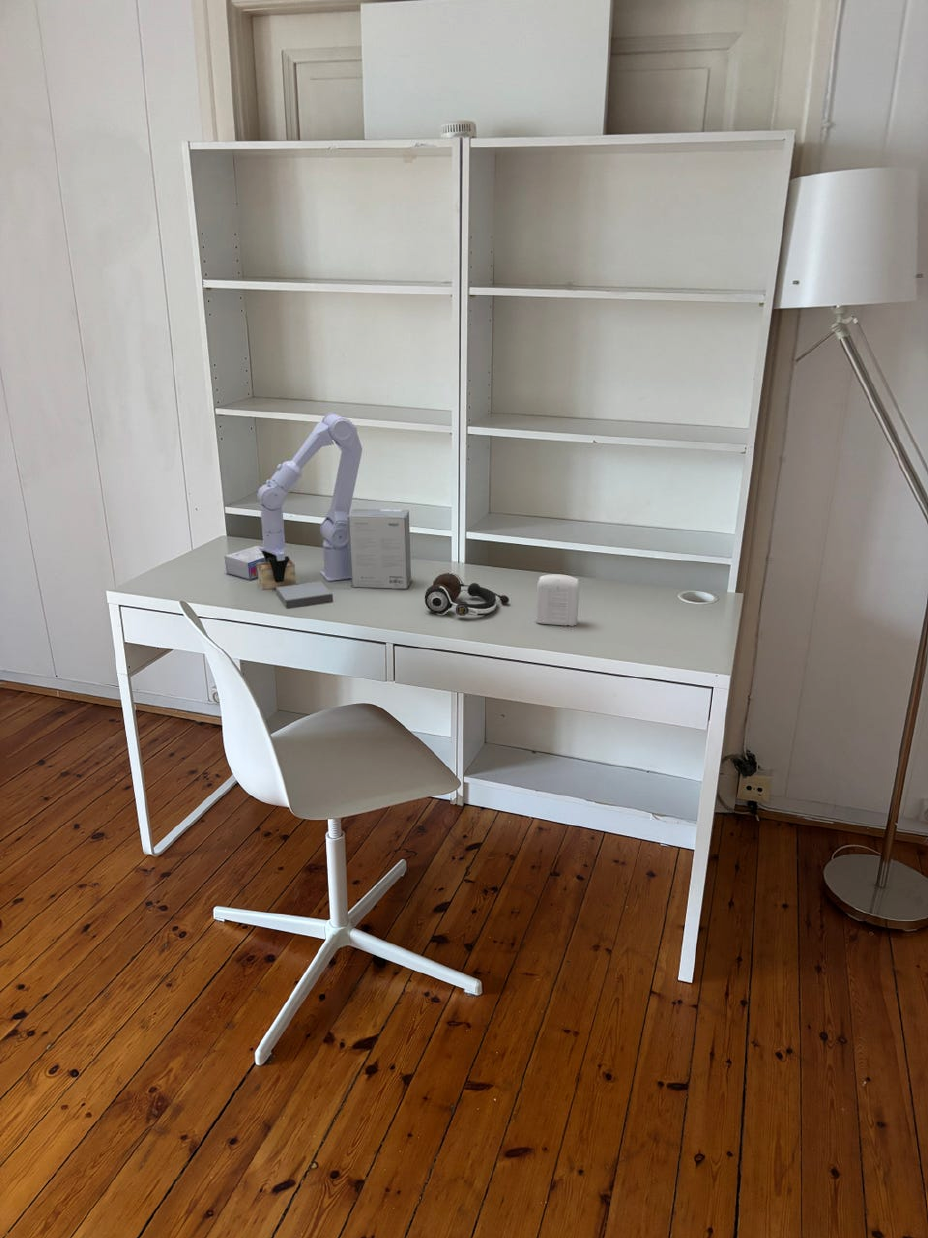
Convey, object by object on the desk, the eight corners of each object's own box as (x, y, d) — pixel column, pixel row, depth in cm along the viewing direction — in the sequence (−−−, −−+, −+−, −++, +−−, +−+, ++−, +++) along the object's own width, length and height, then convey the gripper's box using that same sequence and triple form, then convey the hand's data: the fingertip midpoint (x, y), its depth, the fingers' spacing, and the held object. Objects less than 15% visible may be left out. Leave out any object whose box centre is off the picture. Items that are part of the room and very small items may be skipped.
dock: (321, 588, 241) (320, 581, 240) (332, 601, 232) (332, 594, 231) (276, 594, 236) (276, 587, 236) (287, 608, 227) (286, 601, 227)
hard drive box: (411, 579, 247) (410, 509, 240) (407, 589, 240) (406, 517, 233) (356, 577, 249) (353, 507, 241) (350, 587, 242) (347, 515, 234)
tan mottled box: (291, 579, 248) (289, 558, 246) (295, 584, 243) (294, 564, 241) (258, 583, 244) (256, 563, 242) (262, 589, 240) (261, 568, 238)
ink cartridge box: (250, 581, 246) (288, 566, 257) (248, 562, 244) (287, 548, 255) (226, 574, 251) (264, 559, 262) (224, 555, 249) (262, 541, 260)
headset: (439, 564, 235) (514, 581, 232) (435, 591, 238) (508, 608, 236) (423, 586, 220) (502, 604, 217) (418, 615, 223) (497, 633, 220)
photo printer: (577, 620, 221) (580, 573, 216) (577, 627, 217) (580, 579, 213) (536, 618, 223) (537, 570, 218) (534, 624, 219) (536, 576, 214)
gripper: (252, 524, 243) (256, 572, 248) (264, 539, 231) (268, 588, 236) (278, 521, 245) (281, 568, 251) (291, 536, 233) (294, 585, 238)
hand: (276, 578), depth 243 cm, fingers closed on tan mottled box, 5 cm apart
